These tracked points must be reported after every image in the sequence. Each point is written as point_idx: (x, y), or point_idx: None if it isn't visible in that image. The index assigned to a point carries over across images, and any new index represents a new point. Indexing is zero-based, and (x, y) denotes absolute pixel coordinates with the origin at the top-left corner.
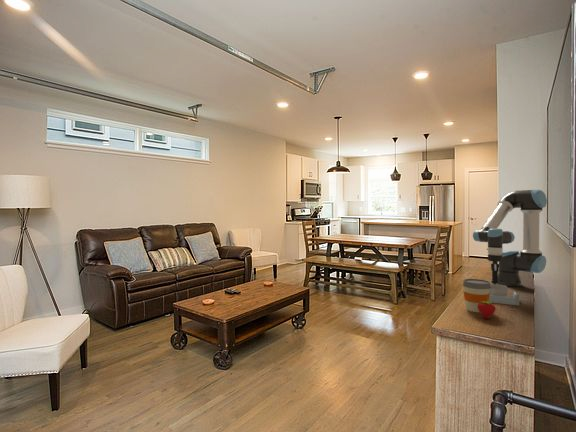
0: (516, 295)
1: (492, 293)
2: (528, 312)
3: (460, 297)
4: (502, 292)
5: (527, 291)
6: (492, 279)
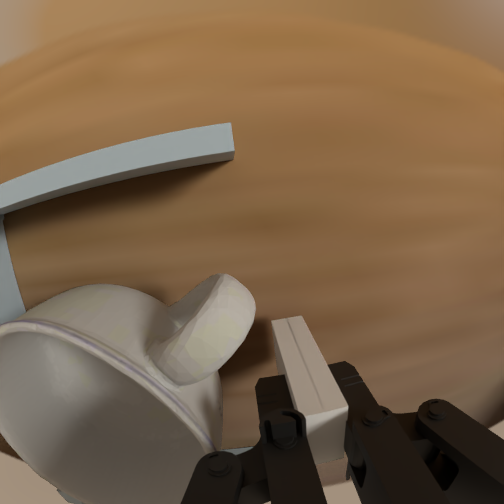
0: (66, 495)
1: (16, 362)
2: (9, 454)
3: (29, 59)
4: (50, 446)
5: (496, 420)
6: (312, 474)
